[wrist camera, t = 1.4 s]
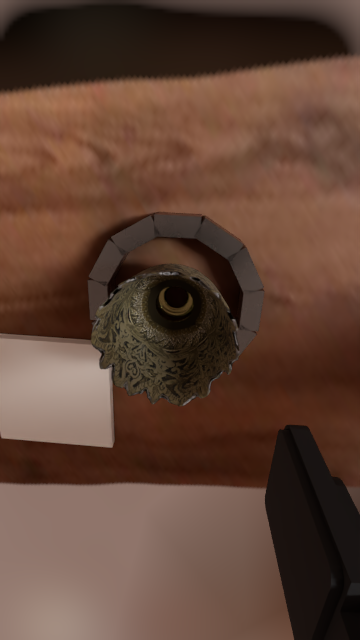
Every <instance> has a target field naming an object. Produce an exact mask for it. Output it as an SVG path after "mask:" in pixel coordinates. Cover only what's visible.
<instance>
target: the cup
mask: <svg viewBox="0 0 360 640" xmlns="http://www.w3.org/2000/svg"><path fill="white" fill-rule="evenodd" d="M173 286H177V287H181V288H183V289H184V290H185V291H186V293H187V296H188V298H187V302H186V303H185V304H184V305H183V306H182V307H178V308H175V307H172V306H170V305H169V304H168V303H167V302H166V299H165V294H166V292H167V290H168V289H169V288H171V287H173ZM230 311H231V310H230V309H229V307H228V305H227V304H226V302H225V300H224V299H223V297H222V295H221V294H220V292H219V291H218V289H217V288H216V287H215V285H214V284H213V283H212V282H211V281H210V280H209V279H208V278H207V277H206V276H205V275H203V274H202V273H200V272H199V271H197V270H195V269H193V268H190V267H188V266H184V265H179V264H163V265H157V266H154V267H151V268H148V269H146V270H144V271H142V272H140V273H138V274H136V275H135V276H133V277H131V278H130V279H128V280H126V281H124V282H122V283H120V284H119V285H118V287H117V288H116V289H115V290H114V291H113V292H112V293H111V295H110V296H109V297H108V299H107V300H106V301H105V302H104V303H103V304H102V305H100V306H99V308H98V310H97V312H96V314H95V318H97V320H96V323H95V325H94V327H93V330H92V335H91V344H92V346H93V347H94V348H95V349H96V350H98V351H99V352H100V353H101V357H100V359H99V366H100V369H101V370H102V369H105V370H106V369H108V368H111V367H112V370H111V379H112V381H113V383H114V385H115V386H117V387H120V388H122V387H125V389H126V391H127V394H128V396H132V395H136V394H138V393H139V394H141V393H143V392H144V391H146V393H147V398H148V399H149V400H150V402H151V403H152V404H155V403H156V402H157V401H158V400H159V399H160V398H164V399H166V400H168V402H169V403H172V404H175V405H178V406H184V405H185V404H187V403H188V402H189V401H191V400H192V399H194V398H195V397H199V398H204V397H207V396H208V395H209V393H210V386H211V382H212V381H213V380H214V379H218V378H219V377H220V375H221V373H222V372H223V371H224V372H227V374H228V375H229V374H230V373H231V370H232V362H234V361H236V360H238V358H239V344H238V340H237V333H236V331H238V327H237V323H236V320H235V319H234V317H233V316H232V314H231V312H230ZM110 365H112V366H110Z"/></svg>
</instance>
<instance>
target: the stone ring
mask: <svg viewBox="0 0 360 640" xmlns="http://www.w3.org/2000/svg"><path fill="white" fill-rule="evenodd" d="M201 216H202V214H186V213H168V212H158V213H156V214H155V213H154V214H152V215H150V216H148V217H146V218H144V219H142V220H141V221H139V222H137V223H135V224H133V225H132V226H130V227H128V228H126V229H124V230H123V231H121V232H119V233H117V234H115V235H114V236H112V237H111V238H110V239H109V240H108V241H107V243H106V245H105V247H104V248H103V250H102V252H101V254H100V256H99V258H98V260H97V261H96V263H95V265H94V267H93V269H92V271H91V273H90V275H89V276H88V277H90V279H88V293H89V308H90V320H94V321H93V322H92V325H93V326H94V325H95V323H96V320H97V318H95V314H96V312H97V310H98V308H99V306H100V305H102V304H103V303H104V302H105V301H106V300H107V299H108V297H109V296H110V295H111V293H112V292H113V291H114V290H115V276H116V274H117V272H118V270H119V269H120V267H121V265H122V263H123V262H124V260H125V258H126V257H127V255H128V253H129V251H131V250H133V249H135V248H137V247H139V246H141V245H142V244H144V243H146V242H148V241H150V240H152V239H154V238H156V237H157V236H158V237H176V238H194V239H198V240H199V241H201V242H202V243H204V244H205V245H207V246H208V247H210V248H211V249H213V250H214V251H216V252H217V253H219V254H220V255H222V256H223V257H225V258H226V259H228V260H229V262H230V265H231V267H232V269H233V271H234V273H235V275H236V278H237V280H238V282H239V284H240V293H239V301H238V309H237V316H236V318H235V320H236V323H237V327H238V331H236V333H237V340H238V344H239V355H240V354H241V353H242V352H243V351H244V349H245V348H246V347H247V346H248V345H249V343H250V342H251V341H252V340H253V339H254V337H255V336H256V335H257V334H256V331H258V330H259V323H260V317H261V310H262V304H263V297H264V290H263V288H264V287H263V284H262V282H261V280H260V277H259V275H258V273H257V271H256V268H255V266H254V264H253V261H252V259H251V257H250V255H249V252H248V250H247V248H246V246H245V245H244V244H243V243H242V241H241V240H240V239H239V238H237V237H236V236H234V235H233V234H231V233H230V232H228V231H227V230H226V229H224V228H223V227H221V226H220V225H218V224H217V223H215V222H214V221H212V220H211V219H210V218H208V217H207V216H205V217H204V218H203V220H202V222H201ZM234 362H235V361H234ZM234 362H232V364H233V363H234Z"/></svg>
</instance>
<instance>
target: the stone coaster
mask: <svg viewBox="0 0 360 640" xmlns="http://www.w3.org/2000/svg"><path fill="white" fill-rule="evenodd" d="M100 357H101V353H100V352H99V351H98V350H96V349H95V348H94V347H93V346H92V344H91V340H85V339H71V338H57V337H43V336H29V335H15V334H1V333H0V433H1V438H6V439H17V440H29V441H41V442H52V443H64V444H75V445H87V446H99V447H110V448H112V447H113V444H114V441H115V438H114V413H113V388H112V379H111V370H112V367H111V368H108V369H106V370H105V369H102V370H101V369H100V366H99V359H100ZM110 366H112V365H110Z"/></svg>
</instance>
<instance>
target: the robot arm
mask: <svg viewBox="0 0 360 640" xmlns="http://www.w3.org/2000/svg"><path fill="white" fill-rule="evenodd" d="M265 506H266V512H267V516H268V521H269V526H270V530H271V535H272V539H273V544H274V548H275V553H276V558H277V562H278V567H279V572H280V576H281V581H282V585H283V589H284V594H285V599H286V604H287V608H288V612H289V617H290V622H291V626H292V630H293V635H294V640H360V514H359V512H358V510H357V508H356V506H355V504H354V502H353V501H352V499H351V497H350V494H349V493H348V491H347V488H346V486H345V485H344V483H343V482H342V480H341V479H339V478H338V477H332V476H331V474H330V472H329V470H328V468H327V466H326V464H325V461H324V459H323V457H322V455H321V453H320V451H319V449H318V447H317V444H316V442H315V440H314V438H313V436H312V434H311V432H310V430H309V428H308V427H307V426H298V425H286V426H285V429H284V430H279V431H278V435H277V440H276V445H275V450H274V455H273V460H272V465H271V470H270V474H269V479H268V484H267V489H266V494H265Z"/></svg>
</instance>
